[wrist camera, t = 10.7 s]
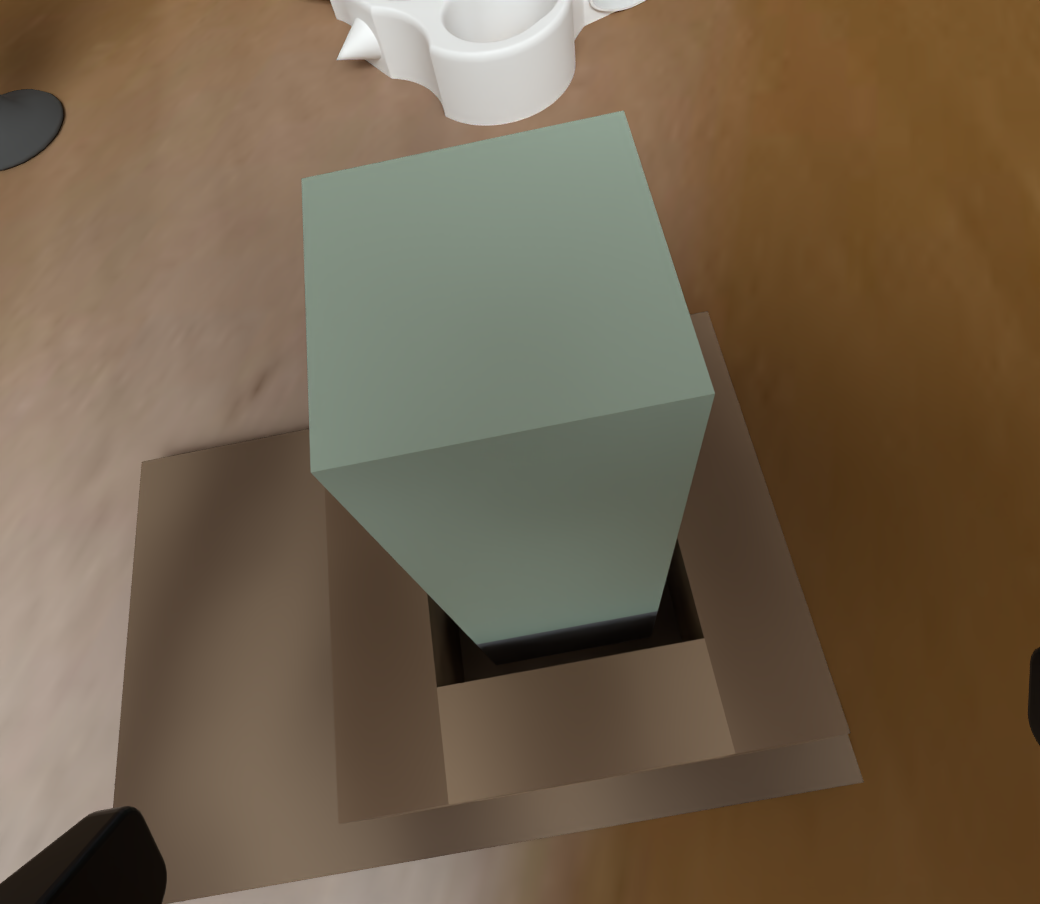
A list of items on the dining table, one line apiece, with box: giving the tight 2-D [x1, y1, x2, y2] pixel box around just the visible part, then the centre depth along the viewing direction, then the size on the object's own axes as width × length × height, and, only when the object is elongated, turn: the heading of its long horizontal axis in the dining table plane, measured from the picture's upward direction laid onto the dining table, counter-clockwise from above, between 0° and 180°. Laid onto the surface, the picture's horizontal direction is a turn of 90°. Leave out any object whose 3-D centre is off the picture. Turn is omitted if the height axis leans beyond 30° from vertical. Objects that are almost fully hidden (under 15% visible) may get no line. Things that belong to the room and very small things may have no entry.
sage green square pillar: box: [302, 111, 715, 665], centre depth 13 cm, size 4×4×12 cm
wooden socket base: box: [113, 311, 864, 904], centre depth 18 cm, size 18×12×4 cm, turn 99°
